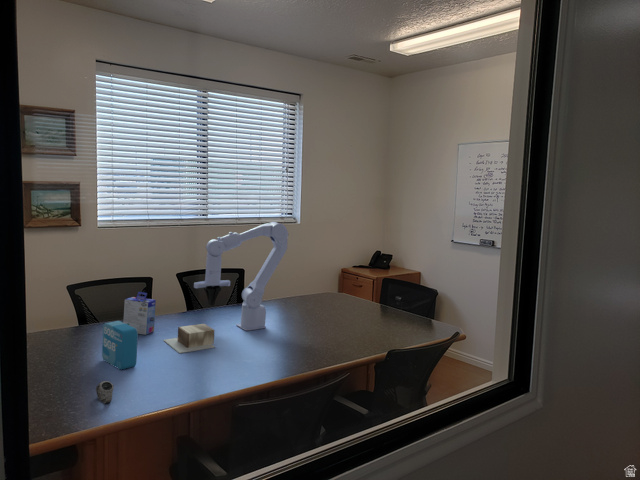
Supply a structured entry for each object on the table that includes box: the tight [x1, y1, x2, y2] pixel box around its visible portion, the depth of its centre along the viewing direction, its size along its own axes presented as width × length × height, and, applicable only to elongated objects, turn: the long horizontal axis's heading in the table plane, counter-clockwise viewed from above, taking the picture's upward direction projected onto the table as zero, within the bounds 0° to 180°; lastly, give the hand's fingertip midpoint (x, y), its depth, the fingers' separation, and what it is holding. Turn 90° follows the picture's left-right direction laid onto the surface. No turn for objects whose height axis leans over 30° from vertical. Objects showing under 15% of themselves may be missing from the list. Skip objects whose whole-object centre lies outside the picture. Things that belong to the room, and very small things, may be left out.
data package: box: [101, 320, 139, 371], centre depth 142 cm, size 12×4×12 cm, turn 53°
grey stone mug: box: [95, 380, 115, 404], centre depth 119 cm, size 4×6×5 cm, turn 48°
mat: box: [163, 337, 216, 354], centre depth 164 cm, size 13×14×1 cm
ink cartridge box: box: [123, 291, 157, 336], centre depth 172 cm, size 10×6×14 cm, turn 78°
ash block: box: [177, 323, 216, 348], centre depth 166 cm, size 5×8×10 cm
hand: (211, 304), depth 182 cm, fingers closed
